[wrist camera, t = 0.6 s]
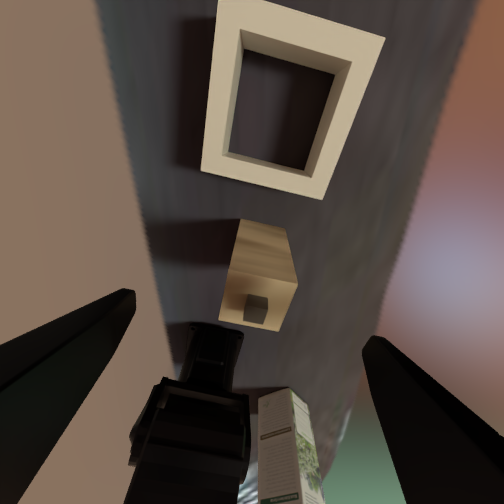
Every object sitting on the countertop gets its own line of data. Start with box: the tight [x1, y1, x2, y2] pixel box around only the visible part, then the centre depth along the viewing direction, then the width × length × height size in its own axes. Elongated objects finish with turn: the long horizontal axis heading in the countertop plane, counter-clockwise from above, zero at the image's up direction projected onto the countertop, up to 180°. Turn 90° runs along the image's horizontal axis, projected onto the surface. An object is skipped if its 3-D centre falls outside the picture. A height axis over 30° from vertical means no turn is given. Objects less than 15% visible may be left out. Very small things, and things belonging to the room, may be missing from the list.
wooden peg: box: [218, 219, 298, 331], centre depth 16 cm, size 4×4×9 cm
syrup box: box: [258, 388, 325, 504], centre depth 27 cm, size 6×6×14 cm
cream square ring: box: [201, 0, 385, 200], centre depth 14 cm, size 8×8×3 cm
